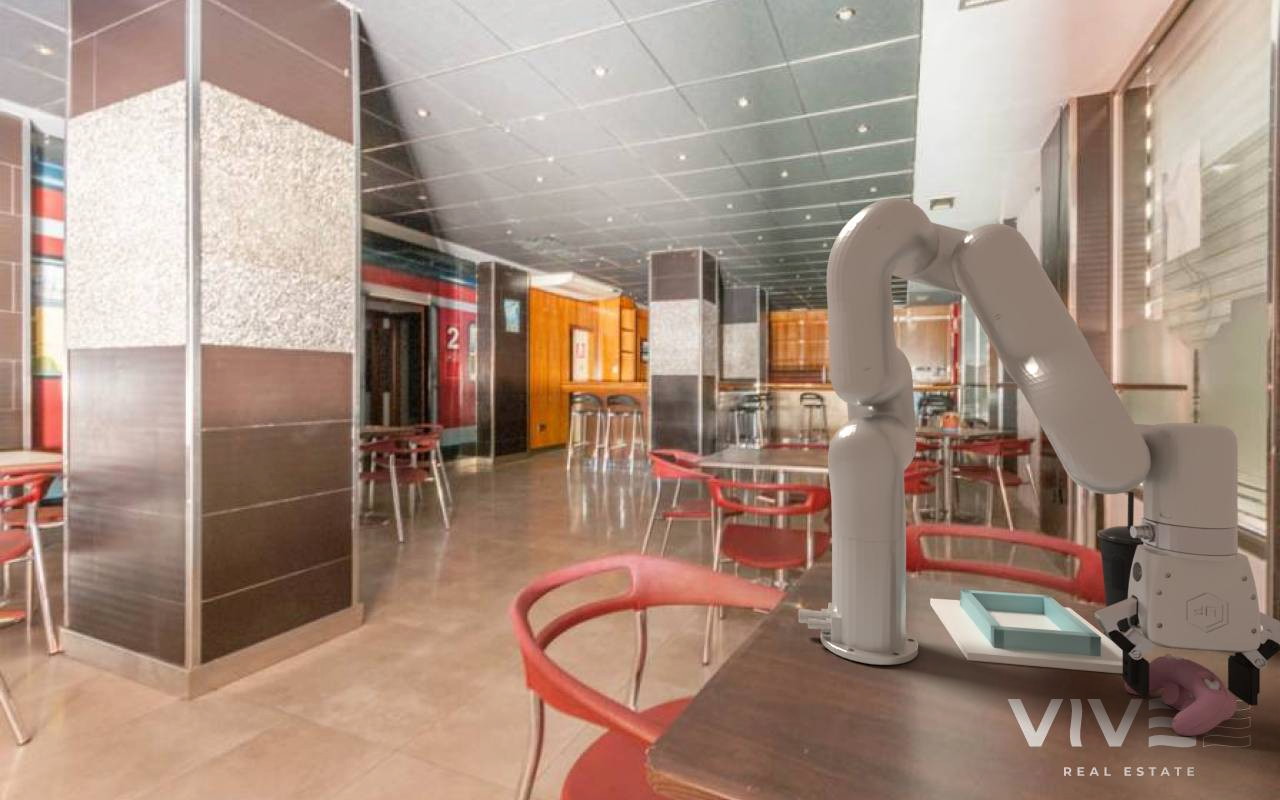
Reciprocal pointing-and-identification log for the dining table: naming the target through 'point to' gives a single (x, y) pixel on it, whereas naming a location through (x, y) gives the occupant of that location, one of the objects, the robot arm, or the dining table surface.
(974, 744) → the dining table surface
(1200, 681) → the video game controller
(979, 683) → the dining table surface
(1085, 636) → the dock
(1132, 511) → the drinking cup
